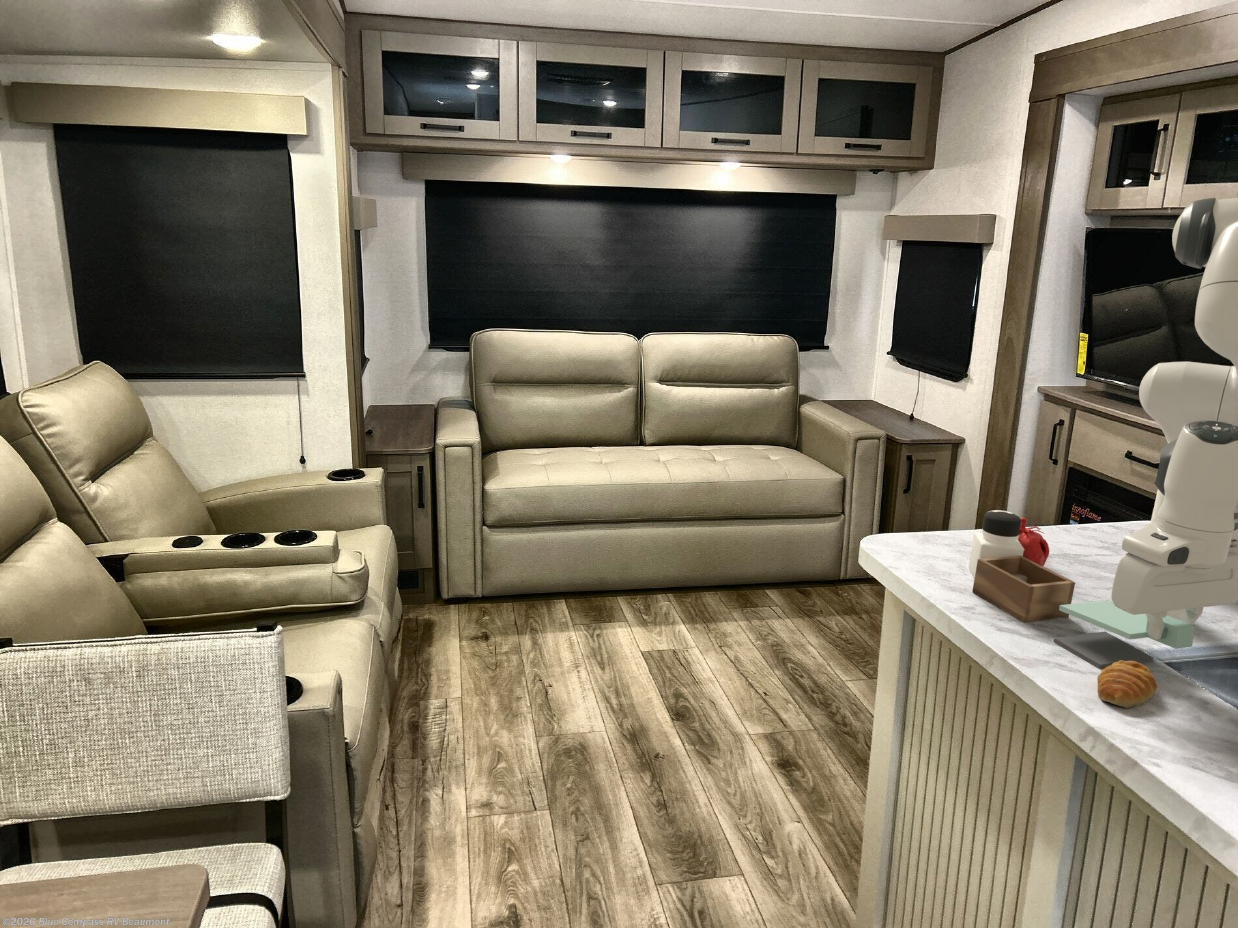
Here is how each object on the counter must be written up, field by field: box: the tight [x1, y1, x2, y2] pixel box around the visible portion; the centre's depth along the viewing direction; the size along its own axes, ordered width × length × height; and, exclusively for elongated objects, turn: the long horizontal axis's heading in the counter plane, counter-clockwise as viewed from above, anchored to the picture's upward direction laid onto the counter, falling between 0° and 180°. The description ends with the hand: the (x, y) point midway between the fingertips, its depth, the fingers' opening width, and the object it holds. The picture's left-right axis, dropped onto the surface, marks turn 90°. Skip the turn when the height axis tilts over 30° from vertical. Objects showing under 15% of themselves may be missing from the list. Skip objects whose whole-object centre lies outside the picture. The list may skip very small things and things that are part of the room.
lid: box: [1059, 599, 1196, 650], centre depth 129 cm, size 10×17×3 cm, turn 19°
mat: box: [1052, 631, 1154, 669], centre depth 132 cm, size 10×9×1 cm
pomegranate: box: [1018, 516, 1050, 567], centre depth 164 cm, size 10×10×9 cm
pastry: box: [1097, 660, 1159, 709], centre depth 119 cm, size 9×7×4 cm
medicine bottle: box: [968, 509, 1024, 579], centre depth 157 cm, size 7×7×12 cm
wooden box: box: [971, 556, 1076, 623], centre depth 147 cm, size 9×12×6 cm
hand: (1168, 635), depth 124 cm, fingers closed on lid, 3 cm apart
